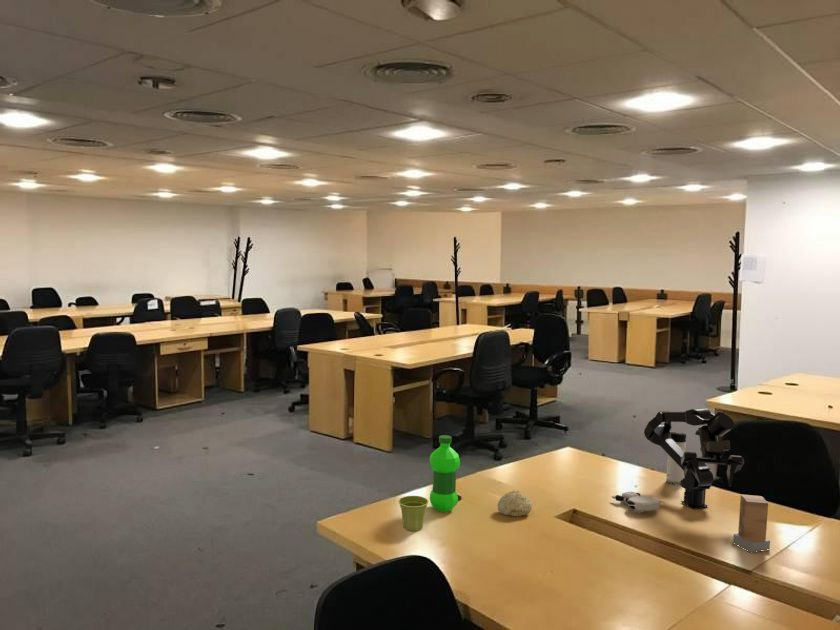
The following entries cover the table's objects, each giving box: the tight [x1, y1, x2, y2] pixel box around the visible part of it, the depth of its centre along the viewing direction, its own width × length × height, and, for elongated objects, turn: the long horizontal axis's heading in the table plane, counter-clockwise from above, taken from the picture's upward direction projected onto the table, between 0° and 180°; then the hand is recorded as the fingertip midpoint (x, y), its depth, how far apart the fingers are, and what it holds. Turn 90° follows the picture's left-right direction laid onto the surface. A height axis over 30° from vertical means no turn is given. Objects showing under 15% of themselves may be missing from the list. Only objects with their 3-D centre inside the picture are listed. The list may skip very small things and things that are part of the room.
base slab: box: [732, 533, 771, 553], centre depth 202 cm, size 7×7×3 cm
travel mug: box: [665, 431, 687, 485], centre depth 259 cm, size 6×7×20 cm
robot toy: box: [611, 491, 665, 513], centre depth 232 cm, size 12×4×15 cm
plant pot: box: [398, 495, 430, 532], centre depth 210 cm, size 9×9×9 cm
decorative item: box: [497, 489, 533, 517], centre depth 225 cm, size 12×9×10 cm
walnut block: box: [737, 494, 769, 542], centre depth 201 cm, size 6×6×12 cm
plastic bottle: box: [429, 434, 461, 513], centre depth 226 cm, size 10×10×25 cm
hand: (715, 484), depth 218 cm, fingers open, 9 cm apart
